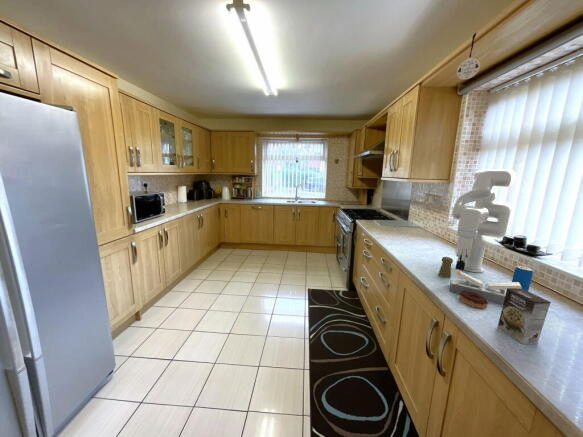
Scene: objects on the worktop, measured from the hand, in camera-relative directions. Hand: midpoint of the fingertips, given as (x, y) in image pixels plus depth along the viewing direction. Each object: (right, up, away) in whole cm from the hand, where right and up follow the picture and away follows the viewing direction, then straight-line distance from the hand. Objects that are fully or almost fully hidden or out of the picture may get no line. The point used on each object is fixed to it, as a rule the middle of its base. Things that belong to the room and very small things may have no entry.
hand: (459, 269), depth 112 cm
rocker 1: (+3, -4, -1) cm, 5 cm away
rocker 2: (+14, -6, -8) cm, 17 cm away
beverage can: (+33, -12, +4) cm, 35 cm away
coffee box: (-2, -17, -30) cm, 35 cm away
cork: (+4, -8, +17) cm, 19 cm away
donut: (-1, -13, -10) cm, 17 cm away
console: (+9, -12, -4) cm, 15 cm away
